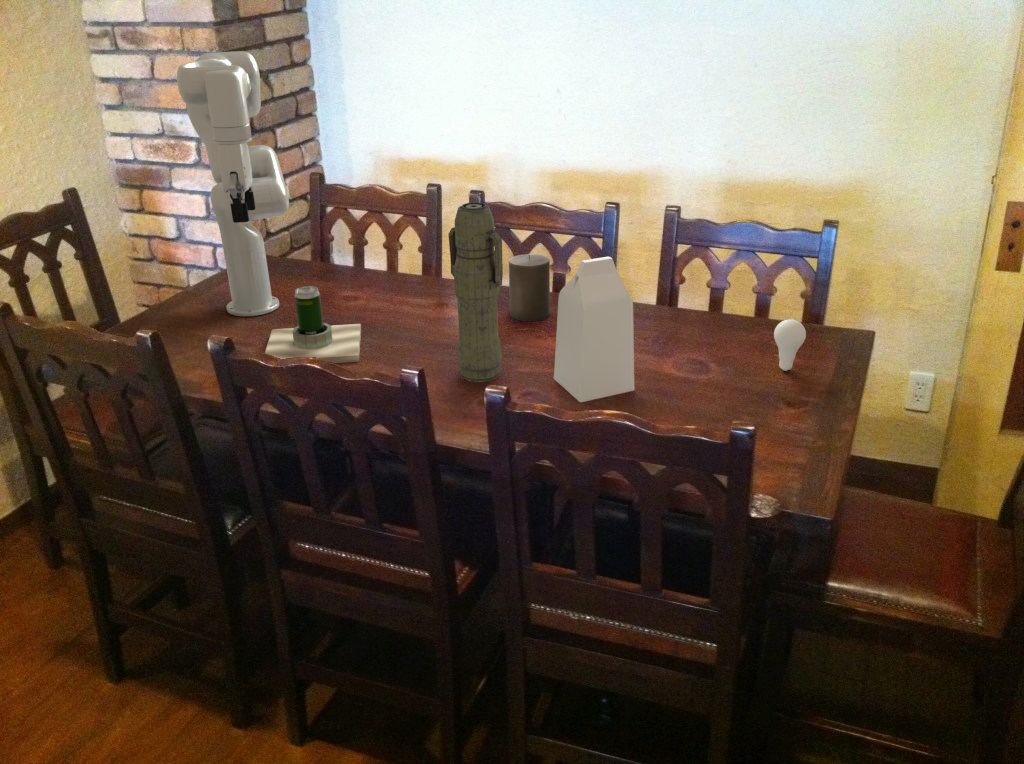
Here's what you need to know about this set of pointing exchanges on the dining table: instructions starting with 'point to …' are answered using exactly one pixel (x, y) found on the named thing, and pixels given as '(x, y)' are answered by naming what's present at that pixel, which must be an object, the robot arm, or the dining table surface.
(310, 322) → the beer can
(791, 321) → the lightbulb
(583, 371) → the milk
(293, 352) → the carrier plate
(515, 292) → the pillar candle
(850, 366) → the dining table surface
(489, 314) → the thermos
